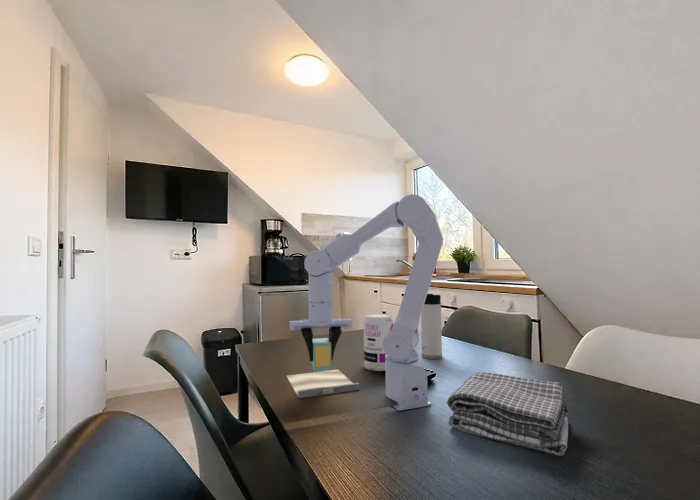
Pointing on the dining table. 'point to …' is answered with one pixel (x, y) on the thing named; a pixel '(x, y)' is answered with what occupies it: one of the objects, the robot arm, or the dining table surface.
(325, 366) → the carton
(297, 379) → the shelf board
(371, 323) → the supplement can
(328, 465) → the dining table surface
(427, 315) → the travel mug
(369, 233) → the robot arm
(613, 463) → the dining table surface
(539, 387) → the towel
